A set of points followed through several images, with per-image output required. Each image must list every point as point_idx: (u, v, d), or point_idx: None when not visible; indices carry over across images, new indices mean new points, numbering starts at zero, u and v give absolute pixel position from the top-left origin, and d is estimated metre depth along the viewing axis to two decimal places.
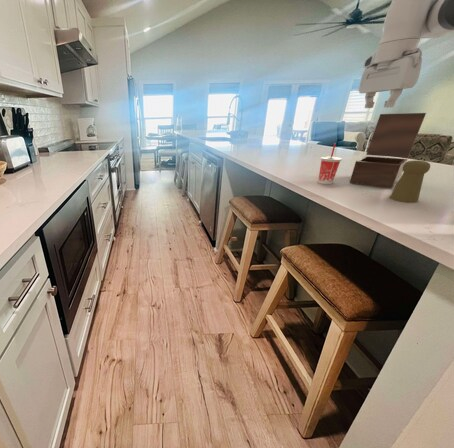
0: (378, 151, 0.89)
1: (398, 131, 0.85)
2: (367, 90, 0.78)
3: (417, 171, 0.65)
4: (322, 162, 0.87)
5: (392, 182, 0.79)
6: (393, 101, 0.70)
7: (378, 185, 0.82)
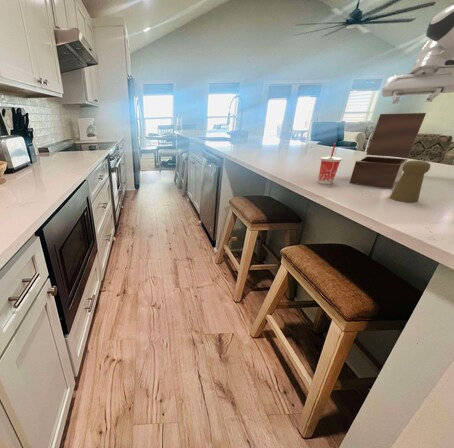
0: (378, 151, 0.89)
1: (398, 131, 0.85)
2: None
3: (417, 171, 0.65)
4: (322, 162, 0.87)
5: (392, 182, 0.79)
6: (394, 98, 0.93)
7: (378, 185, 0.82)
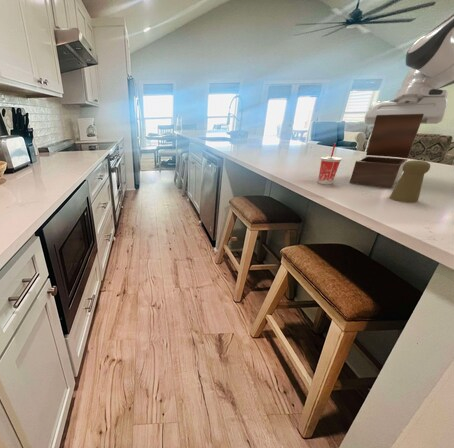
0: (377, 152, 0.89)
1: (396, 133, 0.83)
2: None
3: (417, 171, 0.65)
4: (322, 162, 0.87)
5: (392, 182, 0.79)
6: None
7: (378, 185, 0.82)
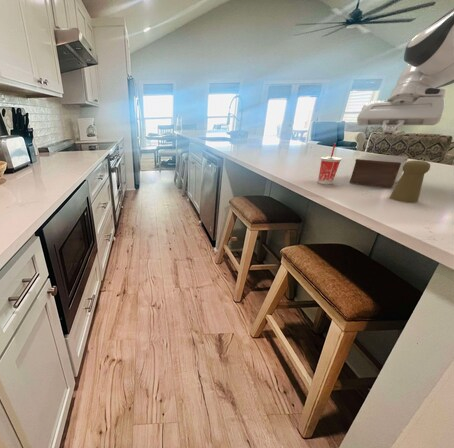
0: None
1: None
2: None
3: (417, 171, 0.65)
4: (322, 162, 0.87)
5: (392, 182, 0.79)
6: (384, 128, 0.79)
7: (378, 185, 0.82)
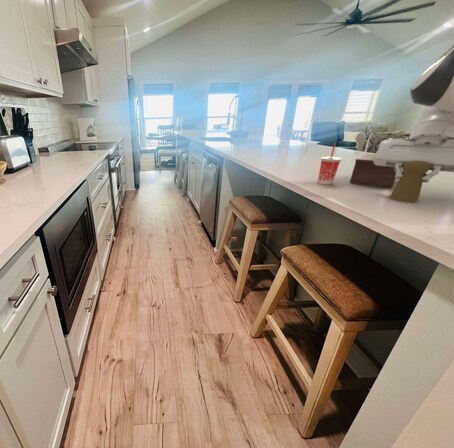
0: None
1: None
2: None
3: (417, 171, 0.65)
4: (322, 162, 0.87)
5: (392, 182, 0.79)
6: (396, 172, 0.70)
7: (378, 185, 0.82)
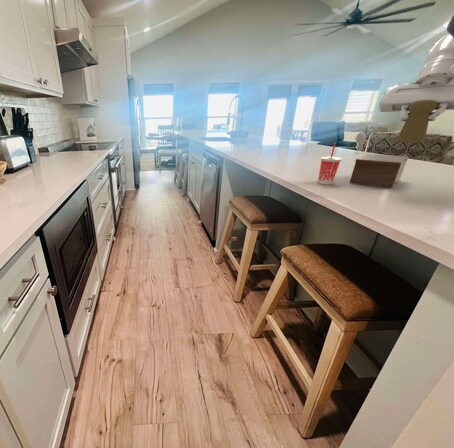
0: None
1: None
2: None
3: (424, 109, 0.65)
4: (322, 162, 0.87)
5: (392, 182, 0.79)
6: (402, 114, 0.70)
7: (378, 185, 0.82)
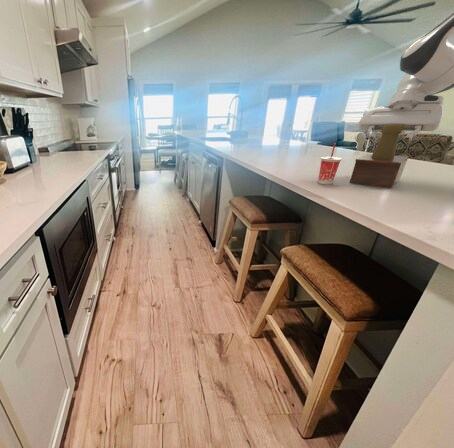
0: None
1: None
2: None
3: (392, 131, 0.79)
4: (322, 162, 0.87)
5: (392, 182, 0.79)
6: (370, 133, 0.85)
7: (378, 185, 0.82)
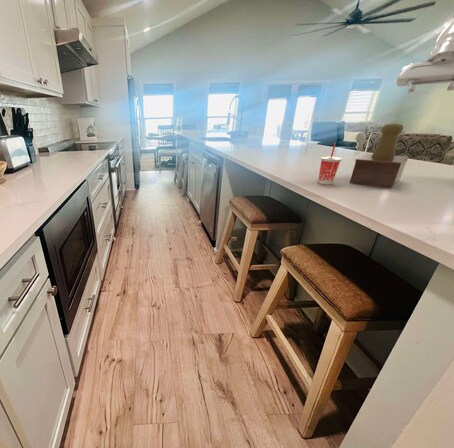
0: None
1: None
2: None
3: (392, 131, 0.79)
4: (322, 162, 0.87)
5: (392, 182, 0.79)
6: (409, 87, 0.87)
7: (378, 185, 0.82)
